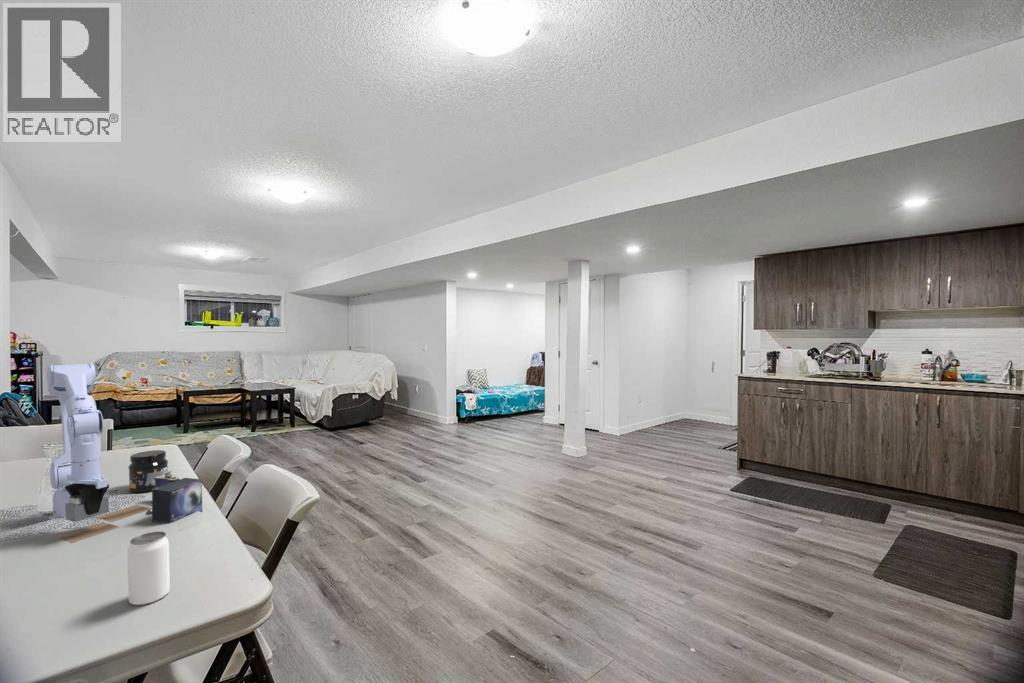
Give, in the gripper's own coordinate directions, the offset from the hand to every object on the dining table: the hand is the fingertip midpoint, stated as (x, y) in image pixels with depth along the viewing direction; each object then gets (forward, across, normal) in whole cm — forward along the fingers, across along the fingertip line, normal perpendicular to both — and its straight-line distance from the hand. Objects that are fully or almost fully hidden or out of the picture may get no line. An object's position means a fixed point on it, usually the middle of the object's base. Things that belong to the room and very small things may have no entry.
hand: (87, 512), depth 119 cm
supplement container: (+7, -28, +29) cm, 41 cm away
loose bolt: (+7, +4, +15) cm, 17 cm away
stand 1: (+7, 0, 0) cm, 7 cm away
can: (+7, +45, -10) cm, 47 cm away
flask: (+7, -4, +21) cm, 23 cm away
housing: (+1, 0, 0) cm, 1 cm away
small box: (+7, +10, +16) cm, 20 cm away
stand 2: (+7, -6, +11) cm, 14 cm away
